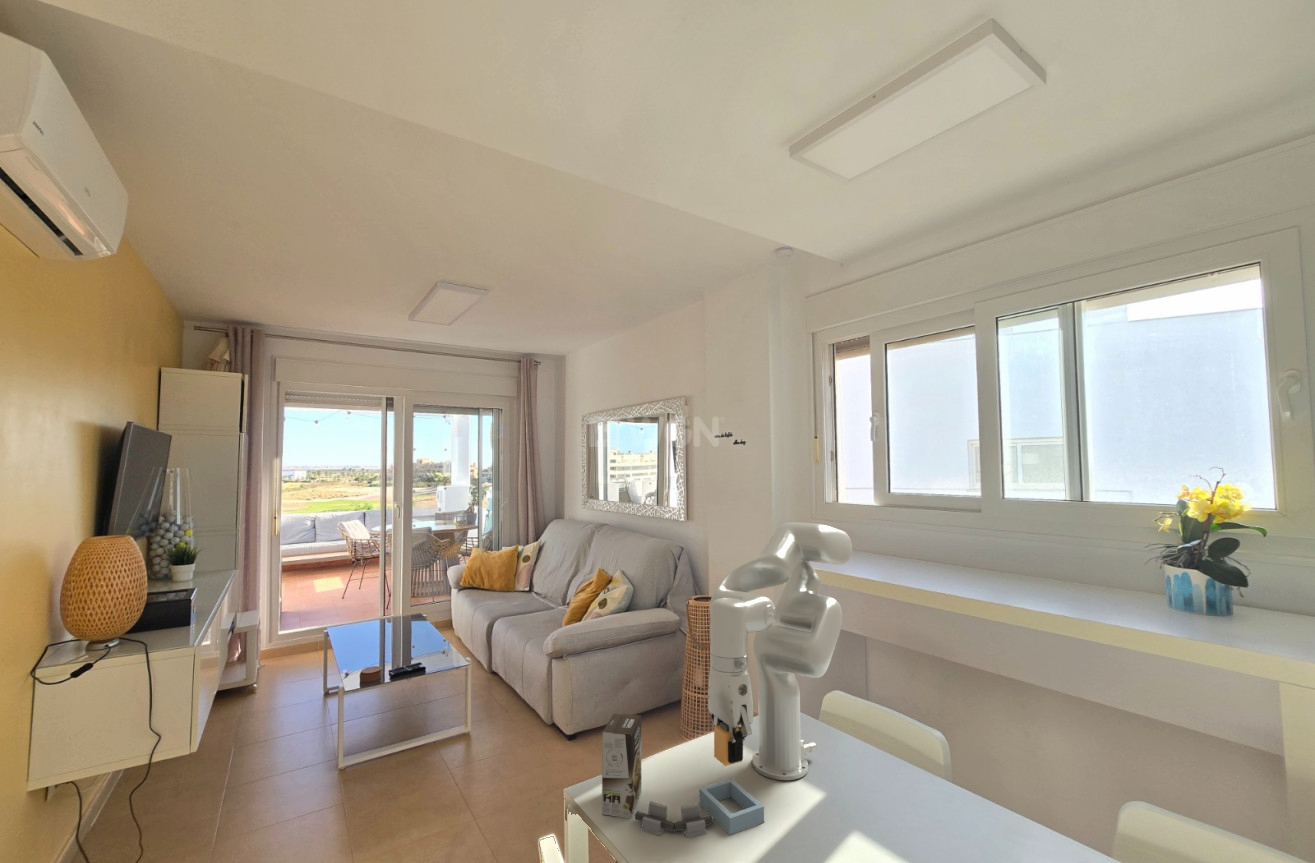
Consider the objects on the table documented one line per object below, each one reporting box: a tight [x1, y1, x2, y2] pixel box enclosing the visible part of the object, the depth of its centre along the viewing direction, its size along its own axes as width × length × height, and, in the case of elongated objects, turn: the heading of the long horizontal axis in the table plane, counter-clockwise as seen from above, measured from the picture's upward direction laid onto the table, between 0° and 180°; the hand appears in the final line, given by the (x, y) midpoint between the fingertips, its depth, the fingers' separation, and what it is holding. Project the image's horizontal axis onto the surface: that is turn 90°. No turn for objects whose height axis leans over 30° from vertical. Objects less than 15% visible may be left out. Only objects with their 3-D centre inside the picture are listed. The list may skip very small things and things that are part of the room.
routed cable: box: [634, 811, 714, 832], centre depth 107 cm, size 15×4×1 cm, turn 85°
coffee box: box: [601, 713, 642, 819], centre depth 115 cm, size 9×6×16 cm
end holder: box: [698, 778, 765, 836], centre depth 111 cm, size 8×11×3 cm
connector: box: [713, 722, 743, 767], centre depth 111 cm, size 4×4×7 cm
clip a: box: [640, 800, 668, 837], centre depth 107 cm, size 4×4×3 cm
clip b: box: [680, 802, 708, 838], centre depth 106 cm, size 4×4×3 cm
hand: (728, 754), depth 111 cm, fingers closed on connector, 4 cm apart
